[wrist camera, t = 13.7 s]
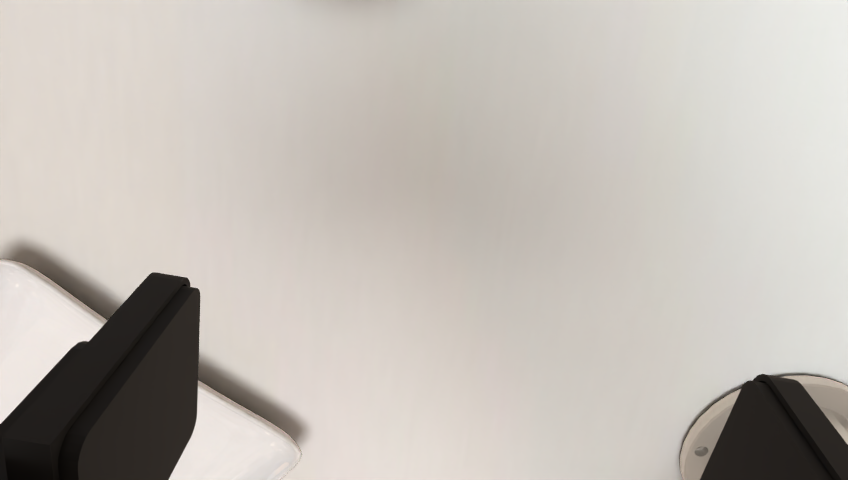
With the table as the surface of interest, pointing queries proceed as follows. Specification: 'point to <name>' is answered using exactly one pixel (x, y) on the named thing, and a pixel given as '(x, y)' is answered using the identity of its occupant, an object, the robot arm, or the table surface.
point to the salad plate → (75, 322)
